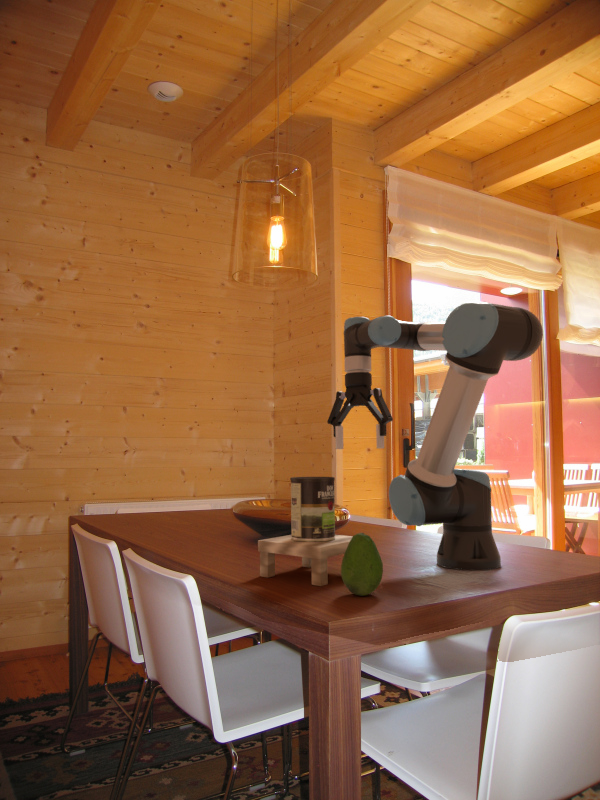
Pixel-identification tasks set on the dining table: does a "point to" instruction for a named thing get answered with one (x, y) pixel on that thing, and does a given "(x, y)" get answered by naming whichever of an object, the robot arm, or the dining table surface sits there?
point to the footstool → (302, 554)
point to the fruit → (361, 565)
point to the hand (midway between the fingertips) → (359, 448)
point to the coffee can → (312, 509)
